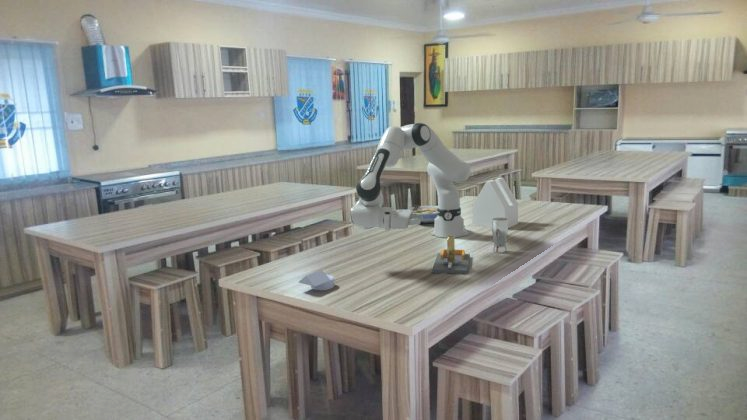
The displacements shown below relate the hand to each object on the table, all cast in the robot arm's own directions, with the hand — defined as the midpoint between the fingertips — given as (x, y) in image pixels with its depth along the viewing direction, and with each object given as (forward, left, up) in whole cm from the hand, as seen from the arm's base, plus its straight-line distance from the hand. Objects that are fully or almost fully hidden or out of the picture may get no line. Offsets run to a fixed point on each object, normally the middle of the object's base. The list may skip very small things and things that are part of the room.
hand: (421, 219), depth 226 cm
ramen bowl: (-85, -8, -21) cm, 88 cm away
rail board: (-3, +12, -20) cm, 24 cm away
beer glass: (-25, +32, -20) cm, 45 cm away
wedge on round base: (+30, -36, -21) cm, 51 cm away
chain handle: (+3, +12, -18) cm, 22 cm away
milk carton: (-79, +30, -21) cm, 87 cm away
